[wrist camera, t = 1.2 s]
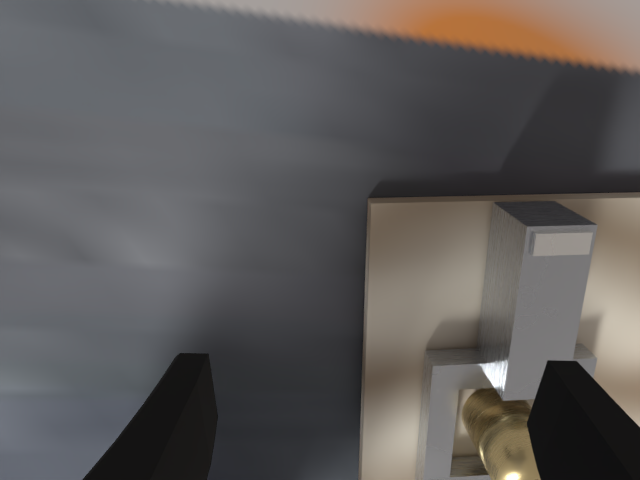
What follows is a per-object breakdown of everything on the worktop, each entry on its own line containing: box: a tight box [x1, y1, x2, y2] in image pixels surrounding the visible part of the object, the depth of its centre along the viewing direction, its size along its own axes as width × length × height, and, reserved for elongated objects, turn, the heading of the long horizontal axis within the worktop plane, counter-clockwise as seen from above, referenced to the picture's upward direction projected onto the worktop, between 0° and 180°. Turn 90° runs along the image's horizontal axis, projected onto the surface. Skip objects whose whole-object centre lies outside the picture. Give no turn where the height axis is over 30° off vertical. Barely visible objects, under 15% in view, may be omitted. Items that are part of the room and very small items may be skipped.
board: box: [358, 192, 640, 480], centre depth 25 cm, size 17×16×1 cm
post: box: [462, 388, 541, 480], centre depth 23 cm, size 3×3×4 cm
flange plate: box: [415, 201, 598, 480], centre depth 22 cm, size 14×7×3 cm, turn 0°
